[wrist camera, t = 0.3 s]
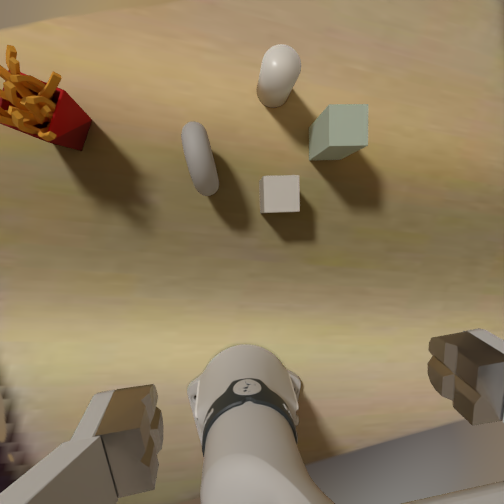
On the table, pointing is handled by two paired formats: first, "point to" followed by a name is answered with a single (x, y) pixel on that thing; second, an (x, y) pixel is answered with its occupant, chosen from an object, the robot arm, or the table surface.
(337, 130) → the sage block
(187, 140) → the donut
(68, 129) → the french fries
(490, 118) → the table surface
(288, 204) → the grey cube
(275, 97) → the white canister
